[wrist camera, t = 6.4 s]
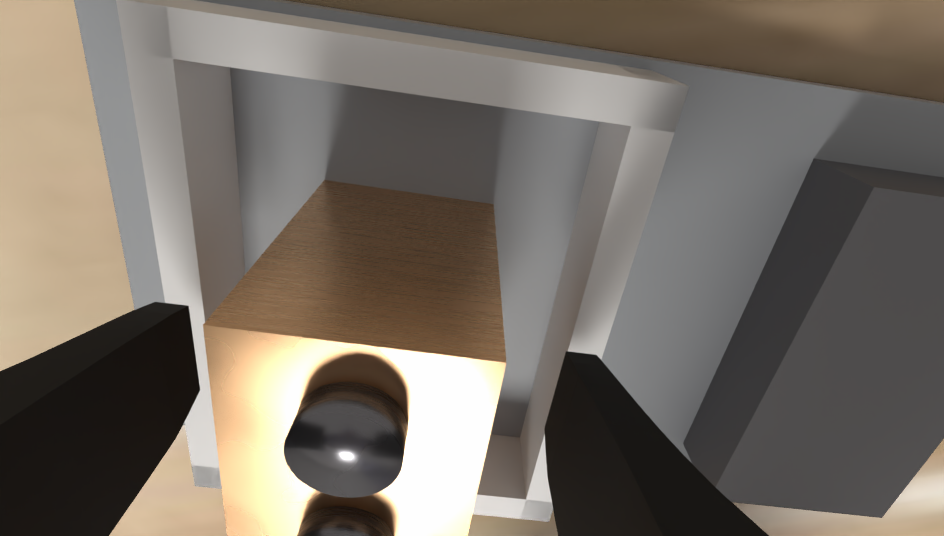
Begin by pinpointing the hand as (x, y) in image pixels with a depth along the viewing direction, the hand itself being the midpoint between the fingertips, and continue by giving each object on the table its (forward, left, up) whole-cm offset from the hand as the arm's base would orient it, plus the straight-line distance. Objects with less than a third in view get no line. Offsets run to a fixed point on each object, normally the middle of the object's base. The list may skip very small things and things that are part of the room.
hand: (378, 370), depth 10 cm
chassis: (-4, -2, -5) cm, 6 cm away
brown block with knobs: (0, 0, -4) cm, 4 cm away
